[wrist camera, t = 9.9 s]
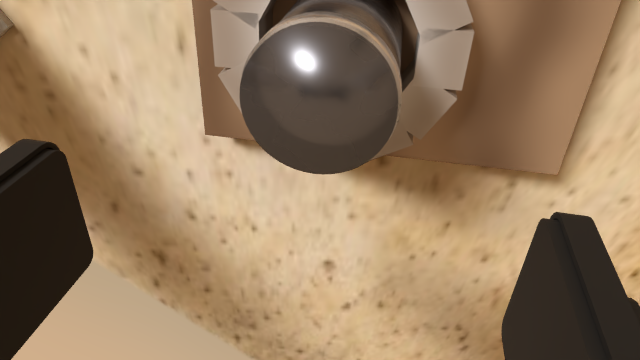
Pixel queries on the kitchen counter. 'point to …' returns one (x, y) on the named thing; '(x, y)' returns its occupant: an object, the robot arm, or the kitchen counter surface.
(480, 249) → the kitchen counter surface
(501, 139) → the mount board
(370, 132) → the lens
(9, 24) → the skyscraper
